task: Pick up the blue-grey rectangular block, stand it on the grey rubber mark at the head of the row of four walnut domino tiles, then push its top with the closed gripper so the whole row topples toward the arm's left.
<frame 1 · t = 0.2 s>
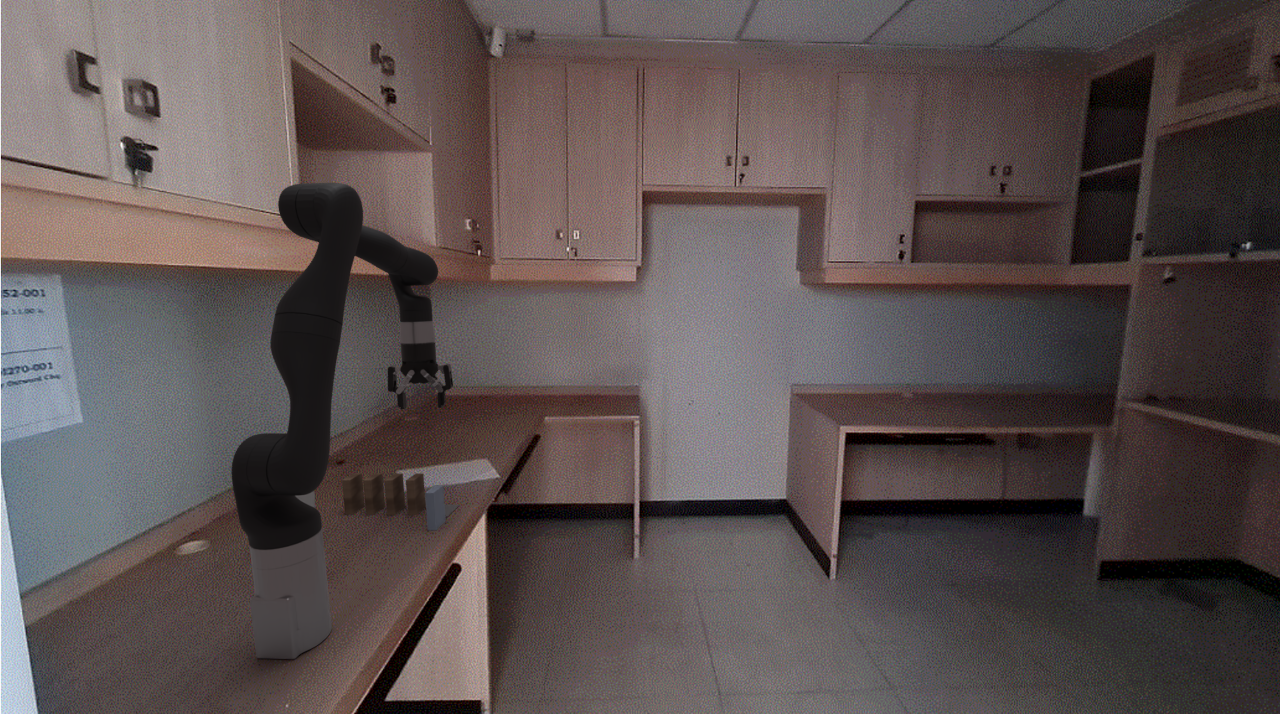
hand: (422, 408, 120), 28 cm above the table, fingers open, 8 cm apart
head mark: (445, 511, 127), on the table
blue-grey rectangular block: (436, 525, 119), on the table
tile 4: (375, 510, 128), on the table
tile 3: (396, 510, 127), on the table
tile 2: (417, 510, 127), on the table
skincare box: (295, 545, 110), on the table
tile 5: (355, 510, 128), on the table
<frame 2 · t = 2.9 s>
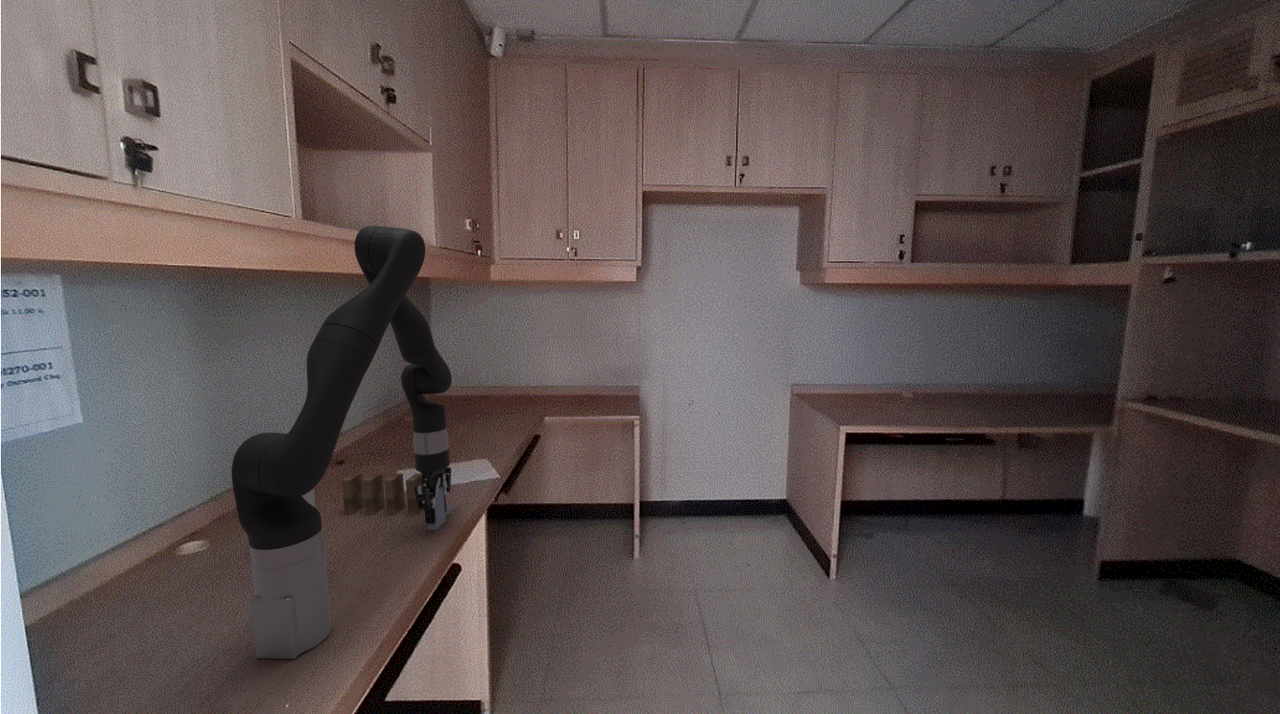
hand: (436, 517, 118), 2 cm above the table, fingers closed on blue-grey rectangular block, 5 cm apart
blue-grey rectangular block: (436, 525, 118), on the table, touching gripper
everything else where it was.
when the fingers open (3 cm above the table, at t = 8.0 s): blue-grey rectangular block stays where it is, resting on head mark.
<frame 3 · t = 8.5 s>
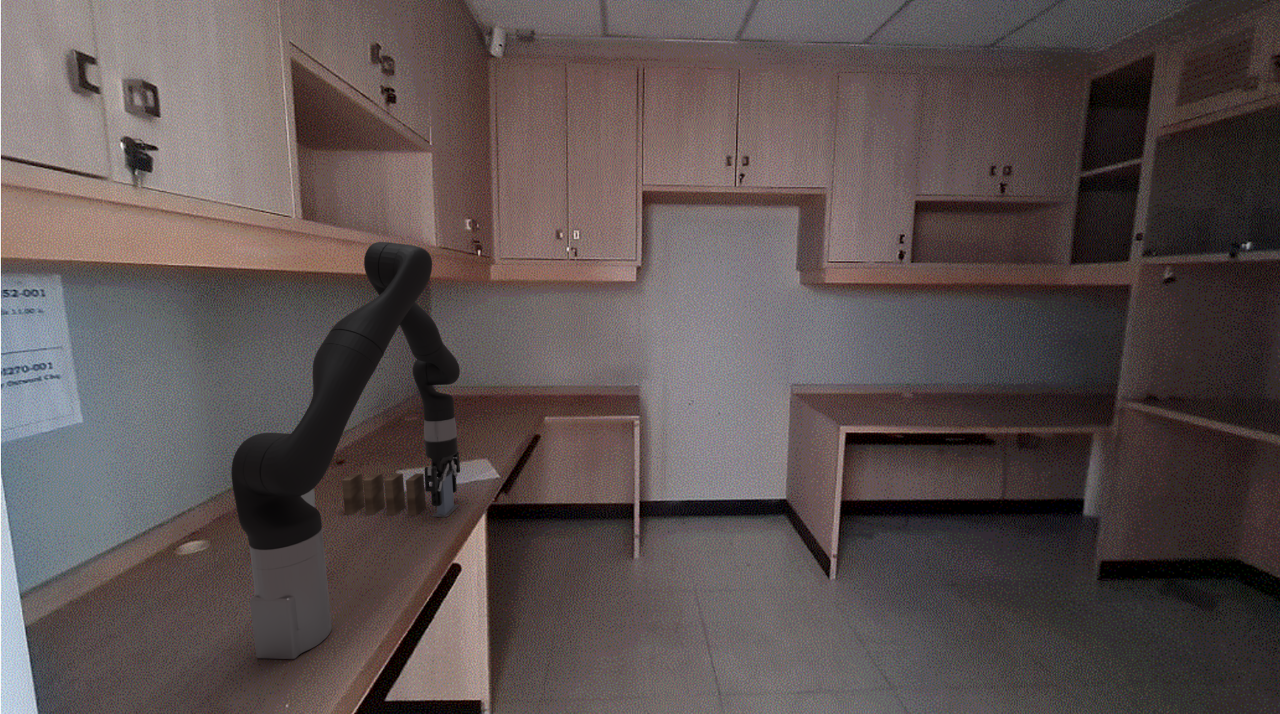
hand: (445, 498, 126), 3 cm above the table, fingers open, 8 cm apart
blue-grey rectangular block: (445, 510, 126), resting on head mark
everything else where it was.
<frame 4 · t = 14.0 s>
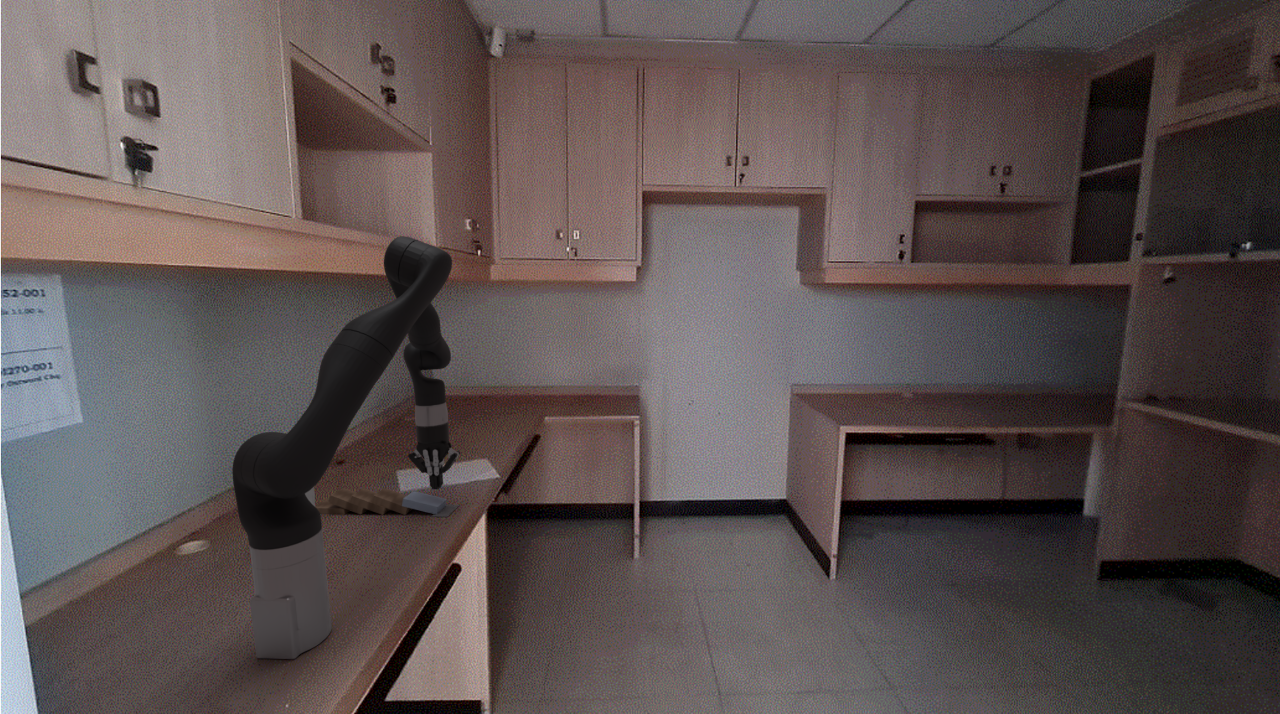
hand: (436, 488, 126), 6 cm above the table, fingers closed
blue-grey rectangular block: (441, 506, 126), point 1 cm above the table, tilted 76°, touching tile 2
tile 4: (368, 507, 128), point 1 cm above the table, tilted 69°, touching tile 3
tile 3: (389, 507, 127), point 1 cm above the table, tilted 69°, touching tile 2, tile 4
tile 2: (411, 507, 127), point 1 cm above the table, tilted 69°, touching tile 3, blue-grey rectangular block
tile 5: (350, 508, 128), point 1 cm above the table, tilted 90°
everything else where it was.
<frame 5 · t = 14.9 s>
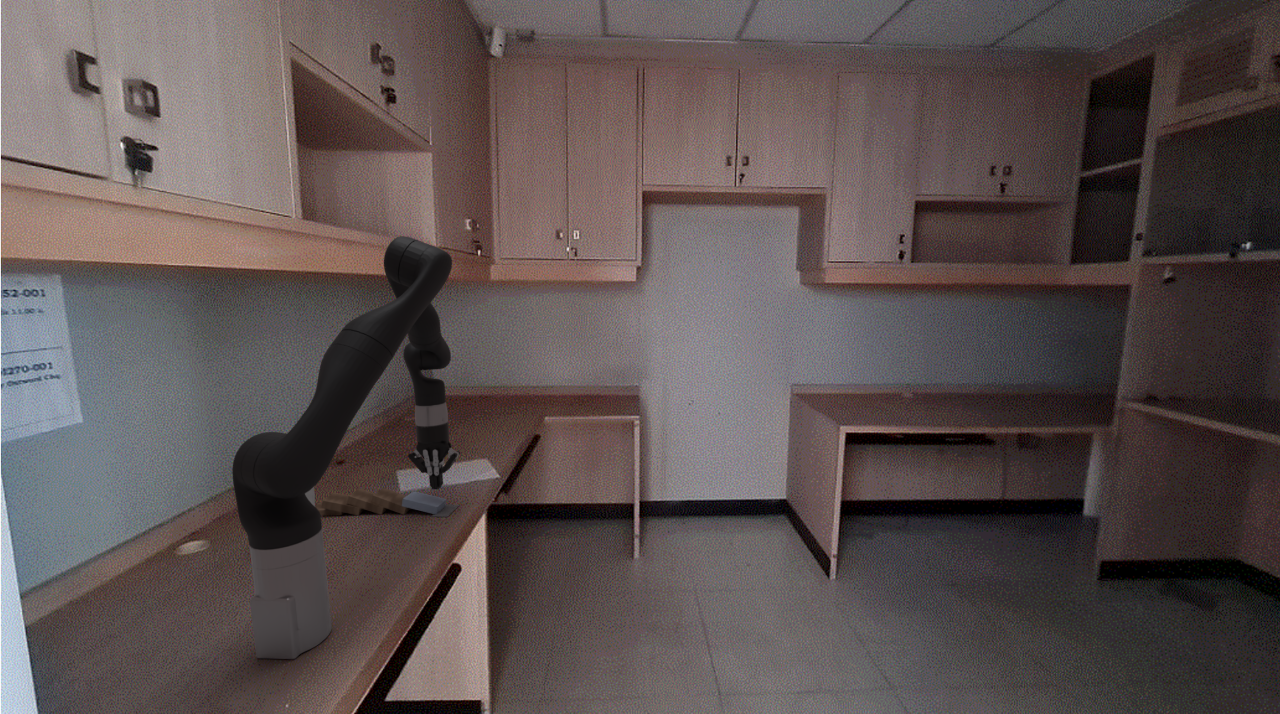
hand: (436, 488, 126), 6 cm above the table, fingers closed
blue-grey rectangular block: (441, 506, 126), point 1 cm above the table, tilted 77°, touching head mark, tile 2
tile 4: (363, 507, 127), point 1 cm above the table, tilted 74°, touching tile 3, tile 5
tile 5: (347, 509, 128), on the table, tilted 90°, touching tile 4
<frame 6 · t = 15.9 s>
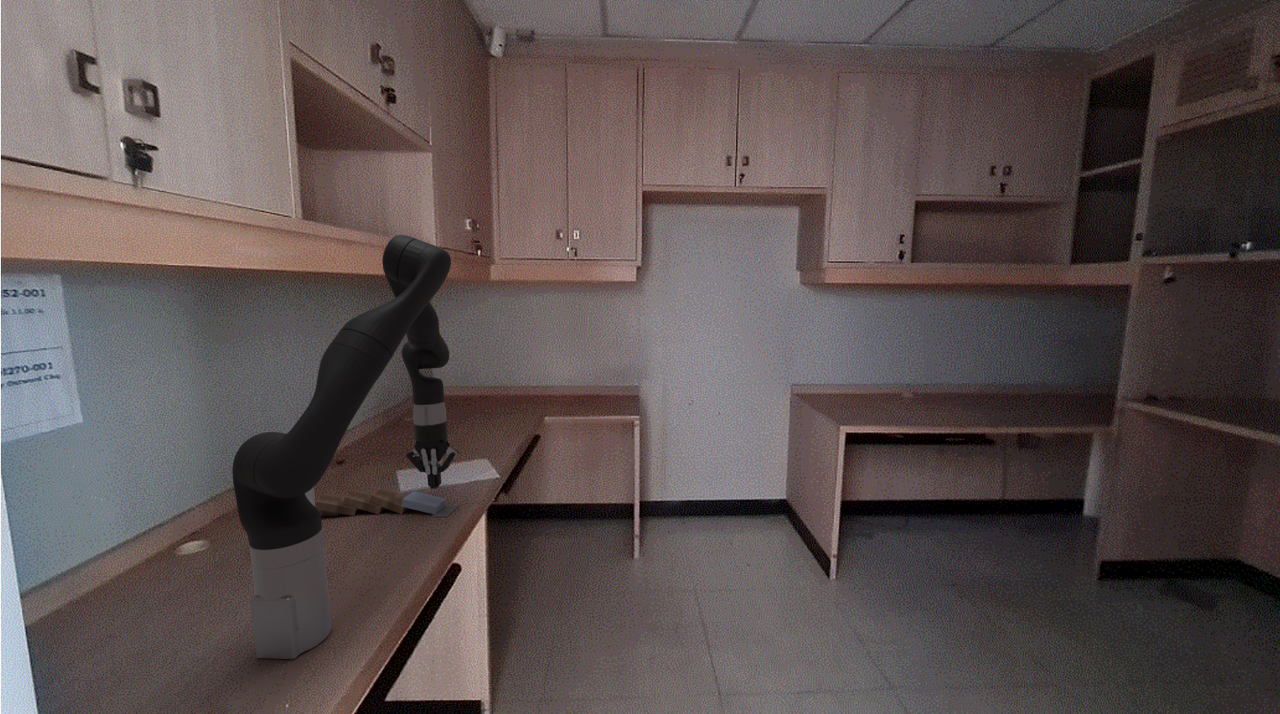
hand: (434, 487, 126), 6 cm above the table, fingers closed
tile 4: (358, 507, 127), point 1 cm above the table, tilted 71°, touching tile 3, tile 5
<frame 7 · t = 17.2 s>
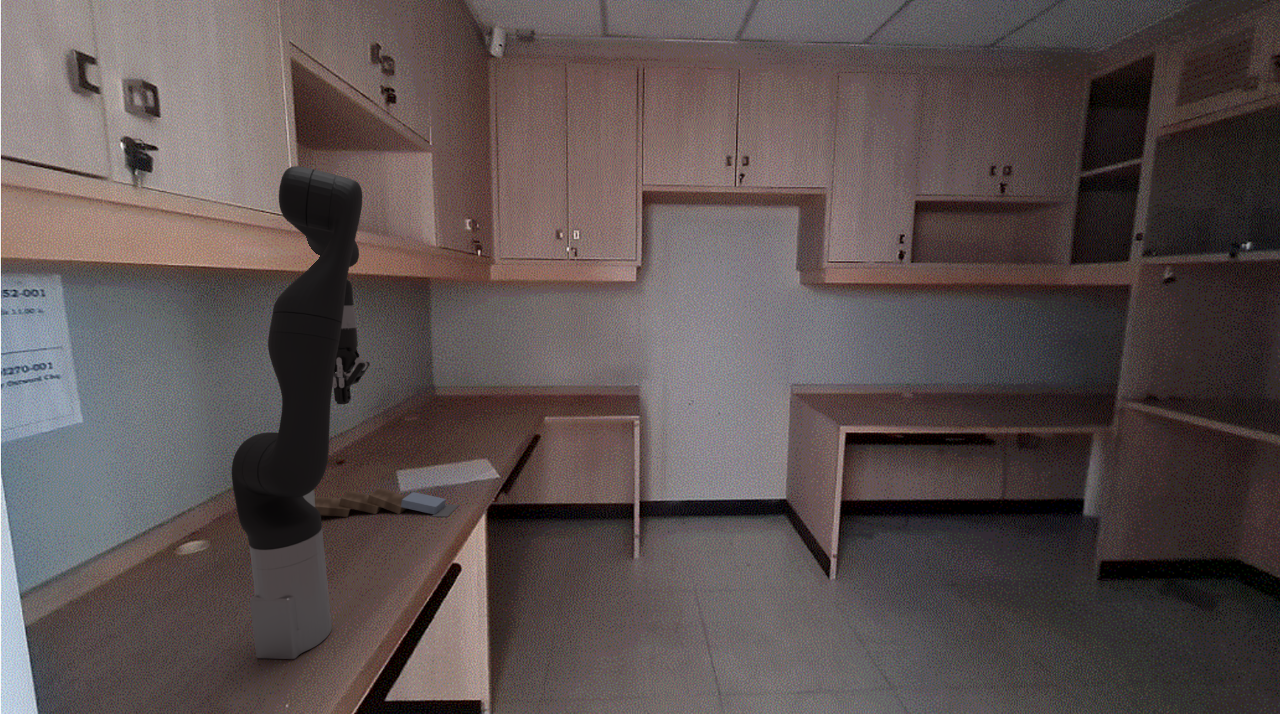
hand: (343, 403, 112), 30 cm above the table, fingers closed
tile 4: (350, 508, 126), point 1 cm above the table, tilted 73°, touching tile 3
tile 3: (380, 506, 128), point 1 cm above the table, tilted 71°, touching tile 2, tile 4
tile 5: (339, 510, 127), on the table, tilted 90°
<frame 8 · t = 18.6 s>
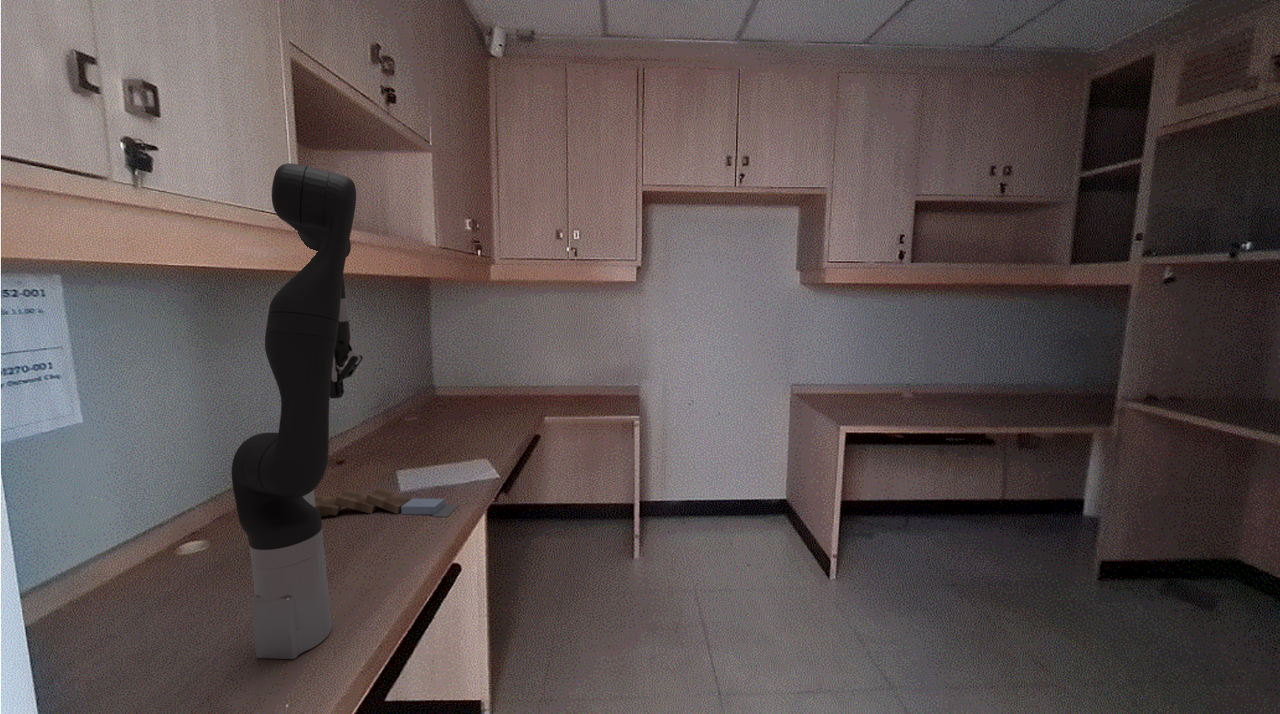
hand: (336, 397, 111), 32 cm above the table, fingers closed
blue-grey rectangular block: (440, 506, 126), point 1 cm above the table, tilted 91°, touching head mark
tile 4: (340, 506, 126), point 2 cm above the table, tilted 75°, touching tile 5
tile 3: (376, 506, 128), point 1 cm above the table, tilted 70°, touching tile 2
tile 2: (404, 506, 128), point 1 cm above the table, tilted 73°, touching tile 3
tile 5: (333, 510, 127), on the table, tilted 90°, touching tile 4
everything else where it was.
at the end: tile 5 tilted 90°; blue-grey rectangular block tilted 91°; blue-grey rectangular block inside the target area (1.7 cm from its centre), point 1.2 cm above the table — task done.
